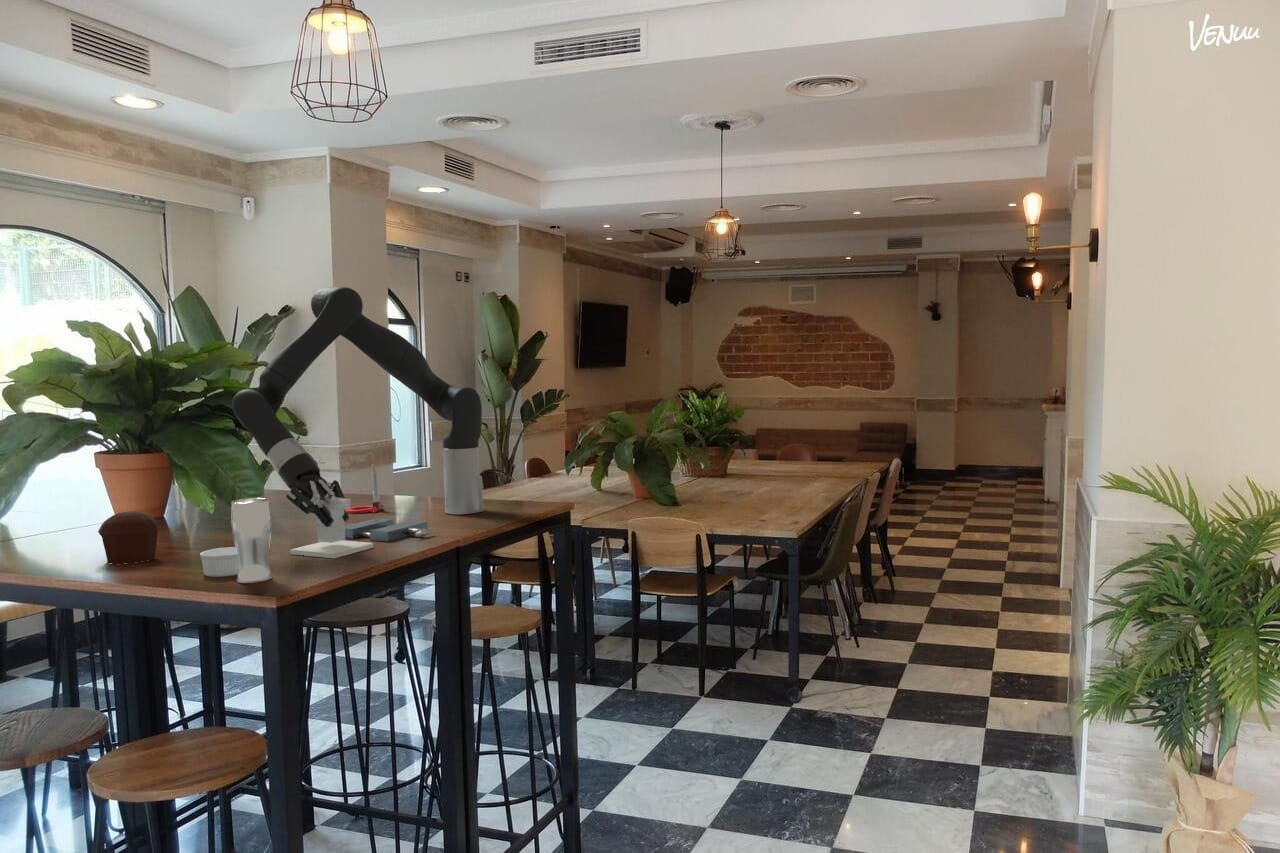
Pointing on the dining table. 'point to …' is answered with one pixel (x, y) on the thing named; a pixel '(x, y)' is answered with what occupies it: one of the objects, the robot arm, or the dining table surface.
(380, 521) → the vise
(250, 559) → the beer glass
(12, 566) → the dining table surface
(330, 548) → the pad
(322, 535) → the glass mug
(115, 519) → the muffin
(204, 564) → the ramekin
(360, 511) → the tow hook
